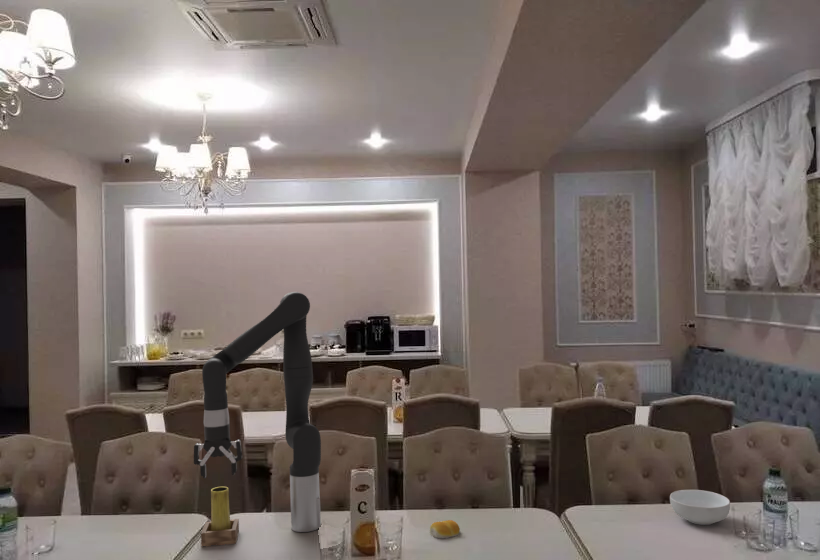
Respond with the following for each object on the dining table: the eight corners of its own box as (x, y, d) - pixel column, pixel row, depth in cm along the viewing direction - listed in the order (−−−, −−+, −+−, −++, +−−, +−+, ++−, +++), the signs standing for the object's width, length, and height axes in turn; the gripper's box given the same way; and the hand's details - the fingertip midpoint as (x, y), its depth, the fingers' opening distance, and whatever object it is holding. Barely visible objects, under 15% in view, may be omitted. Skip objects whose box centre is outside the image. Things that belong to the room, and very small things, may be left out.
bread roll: (464, 535, 192) (464, 521, 193) (439, 541, 188) (438, 527, 188) (450, 526, 200) (449, 513, 200) (425, 532, 195) (425, 519, 196)
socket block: (238, 531, 201) (238, 518, 201) (235, 543, 192) (235, 530, 192) (206, 534, 200) (205, 521, 200) (201, 546, 190) (200, 533, 190)
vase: (225, 539, 192) (224, 492, 192) (206, 539, 193) (205, 491, 194) (234, 532, 198) (233, 486, 198) (216, 531, 199) (215, 485, 200)
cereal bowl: (670, 527, 192) (669, 503, 192) (670, 509, 208) (669, 487, 208) (733, 533, 186) (732, 508, 186) (728, 514, 201) (727, 491, 202)
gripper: (241, 419, 201) (243, 470, 201) (194, 422, 199) (197, 474, 199) (239, 423, 194) (241, 477, 194) (190, 427, 192) (192, 481, 191)
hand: (219, 475), depth 196 cm, fingers open, 8 cm apart
